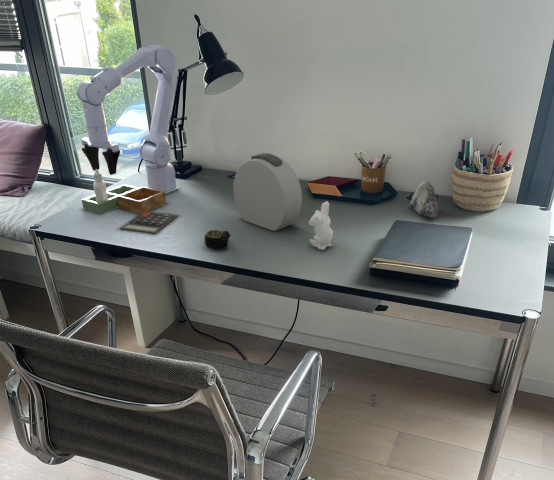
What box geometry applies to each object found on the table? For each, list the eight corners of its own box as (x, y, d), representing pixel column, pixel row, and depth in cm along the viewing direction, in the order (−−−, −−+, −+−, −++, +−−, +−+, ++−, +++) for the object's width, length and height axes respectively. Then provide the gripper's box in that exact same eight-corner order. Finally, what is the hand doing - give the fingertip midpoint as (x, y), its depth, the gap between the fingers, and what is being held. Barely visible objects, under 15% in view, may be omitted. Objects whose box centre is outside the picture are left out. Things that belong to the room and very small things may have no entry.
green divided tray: (125, 193, 192) (124, 184, 190) (142, 197, 189) (140, 188, 187) (83, 209, 180) (81, 199, 178) (100, 214, 176) (98, 204, 174)
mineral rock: (433, 224, 169) (438, 191, 163) (398, 217, 173) (403, 185, 168) (445, 210, 178) (450, 178, 172) (412, 205, 183) (416, 173, 177)
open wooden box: (144, 198, 188) (142, 186, 186) (166, 203, 184) (164, 191, 181) (119, 208, 181) (117, 195, 178) (141, 214, 176) (139, 201, 174)
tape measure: (228, 251, 153) (227, 238, 151) (203, 251, 153) (201, 238, 151) (230, 241, 159) (230, 229, 157) (206, 241, 159) (205, 228, 157)
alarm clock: (301, 227, 167) (303, 159, 155) (284, 234, 163) (285, 164, 151) (251, 210, 179) (249, 145, 167) (234, 216, 174) (231, 150, 163)
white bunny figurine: (316, 239, 160) (317, 197, 153) (338, 243, 158) (341, 201, 151) (304, 250, 154) (305, 207, 147) (327, 254, 151) (329, 211, 144)
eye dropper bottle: (114, 205, 183) (108, 167, 175) (102, 211, 178) (95, 172, 171) (104, 203, 184) (97, 166, 177) (92, 208, 180) (84, 170, 173)
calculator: (177, 214, 175) (154, 232, 163) (178, 217, 175) (155, 235, 164) (144, 210, 178) (119, 227, 166) (144, 213, 178) (119, 230, 166)
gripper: (69, 125, 170) (79, 171, 178) (103, 132, 163) (111, 179, 171) (88, 121, 175) (96, 165, 183) (121, 127, 168) (128, 173, 176)
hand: (104, 171), depth 177 cm, fingers open, 7 cm apart
